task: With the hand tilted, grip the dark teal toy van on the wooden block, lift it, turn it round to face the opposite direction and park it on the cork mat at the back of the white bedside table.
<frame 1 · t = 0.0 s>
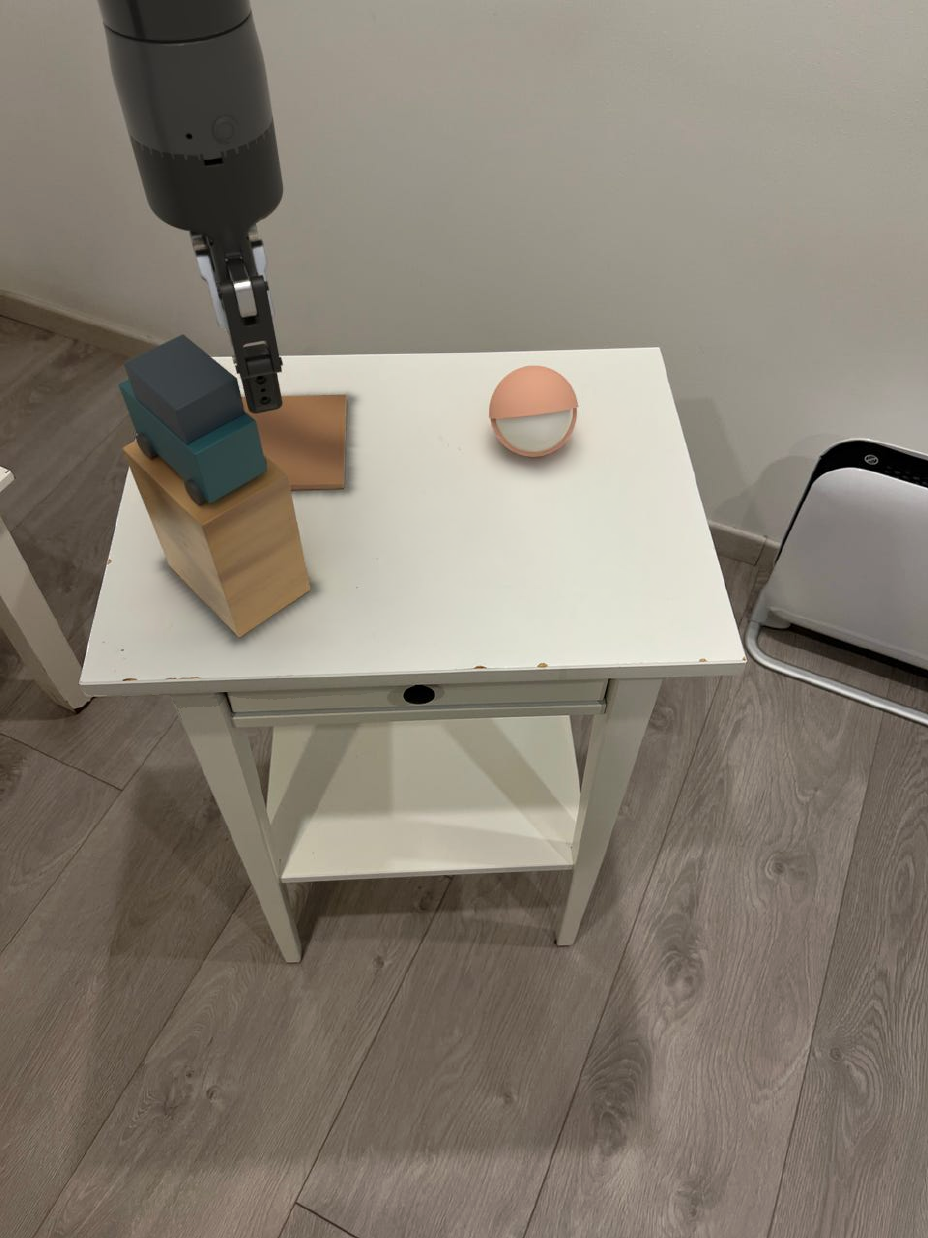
hand: (253, 367, 58), 18 cm above the table, tool pointing down, fingers open, 8 cm apart
toy ball: (529, 445, 81), on the table
wooden block: (239, 577, 71), on the table
toy van: (241, 495, 58), point 13 cm above the table, touching wooden block
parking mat: (284, 400, 84), on the table
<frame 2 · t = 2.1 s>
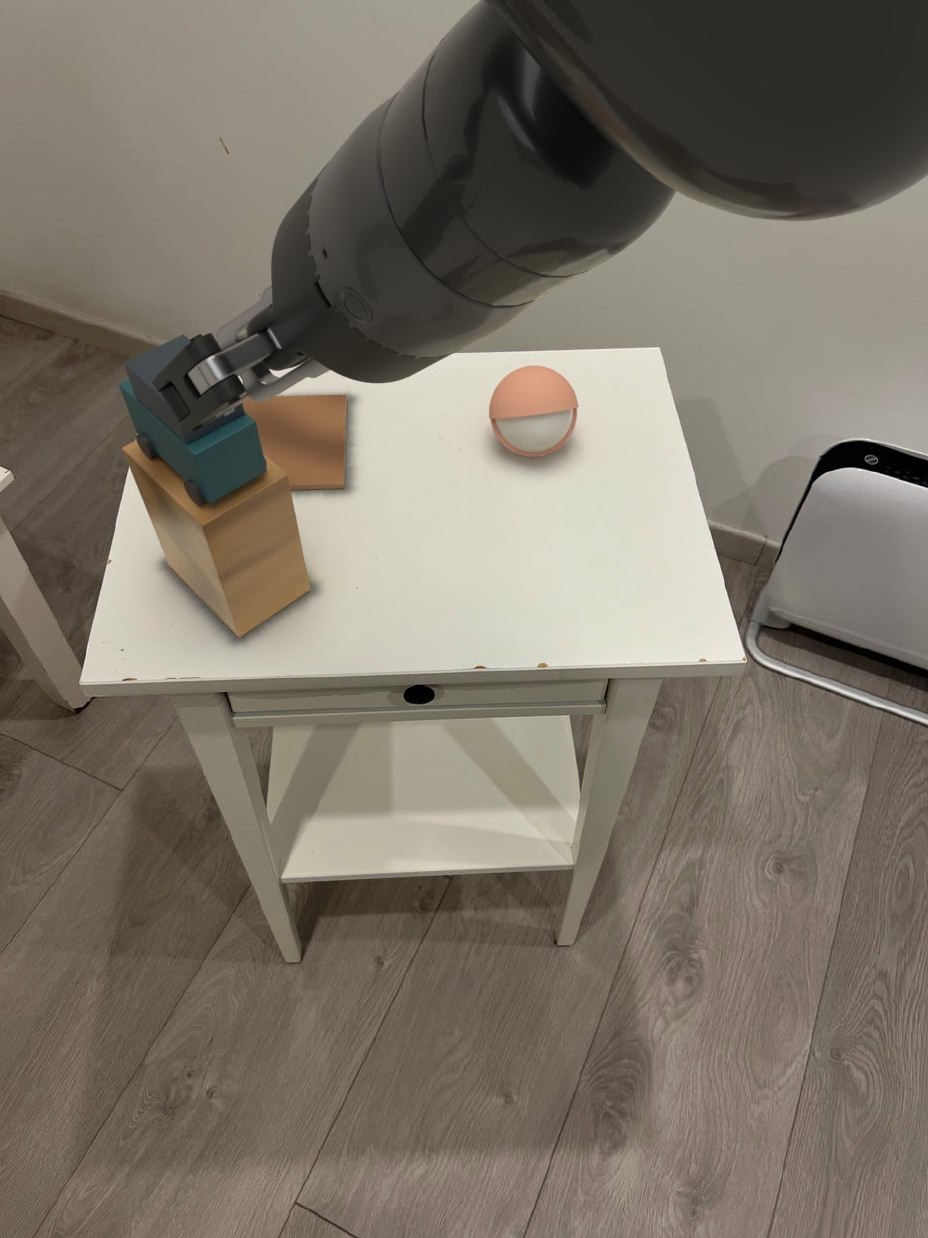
hand: (269, 364, 44), 28 cm above the table, tool tilted 45°, fingers open, 8 cm apart
nothing on the table moved.
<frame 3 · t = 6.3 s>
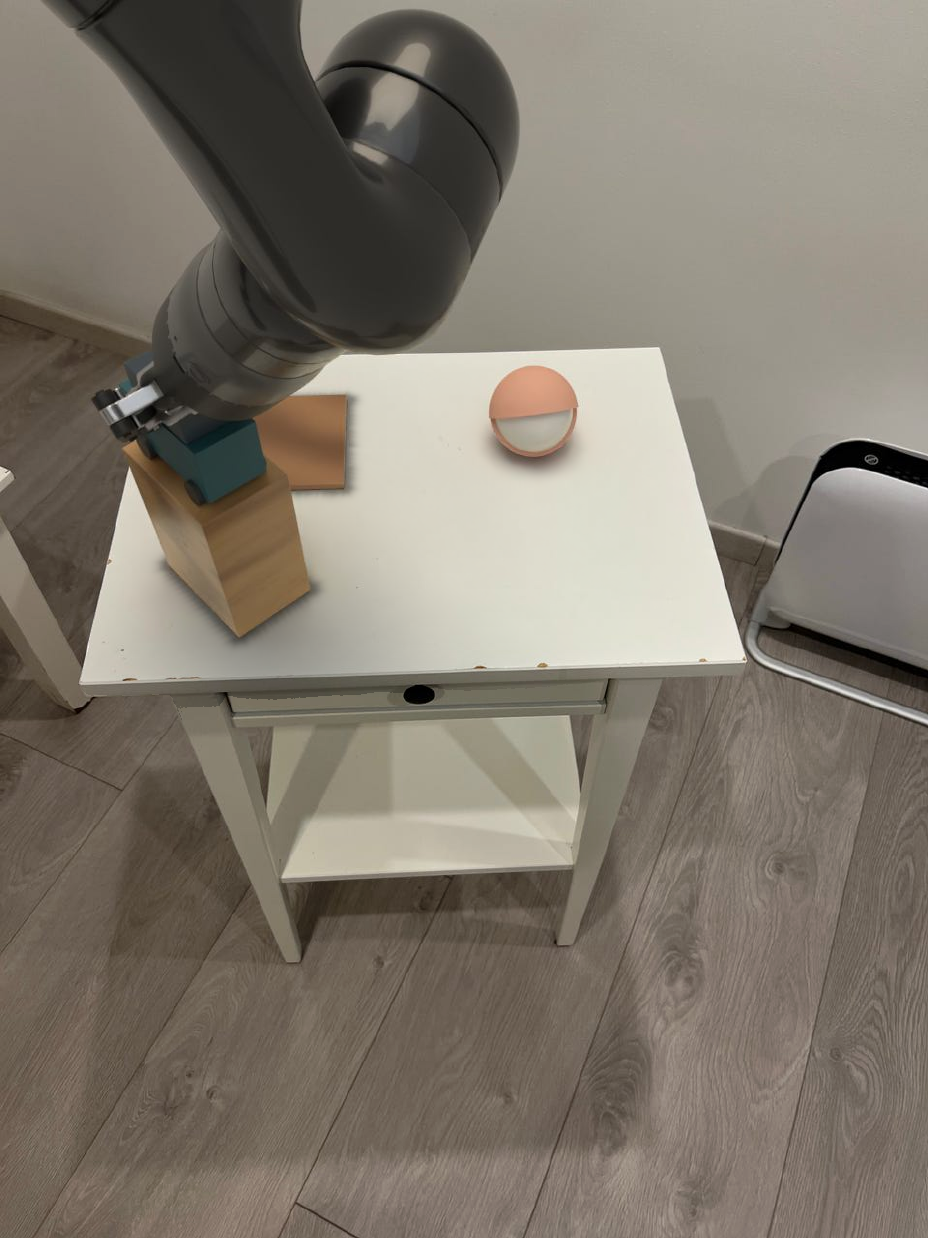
hand: (173, 401, 58), 17 cm above the table, tool tilted 45°, fingers closed on toy van, 4 cm apart
toy van: (241, 495, 58), point 13 cm above the table, touching wooden block, gripper
everything else where it was.
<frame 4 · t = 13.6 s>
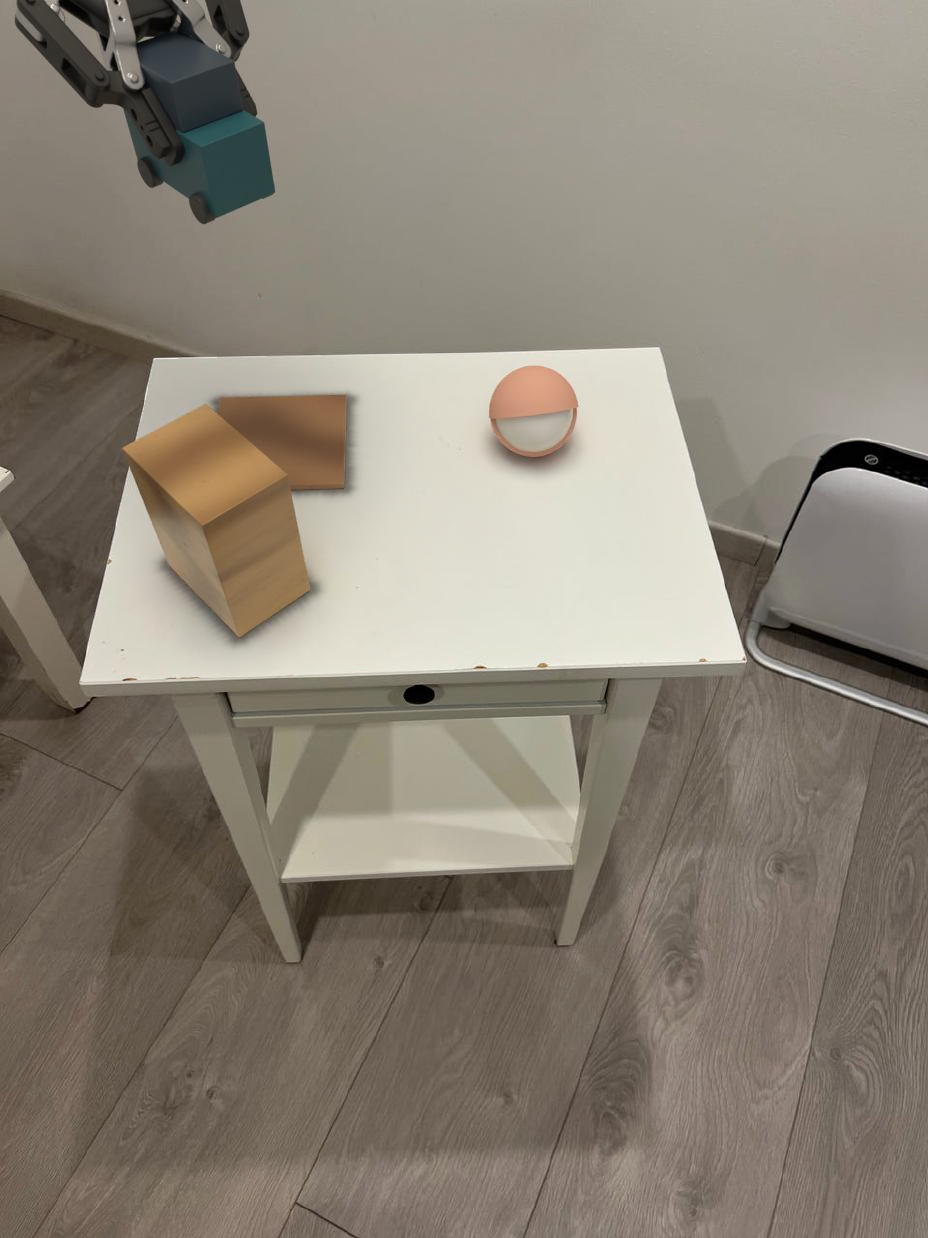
hand: (213, 143, 54), 29 cm above the table, tool tilted 45°, fingers closed on toy van, 4 cm apart
toy van: (170, 165, 60), point 25 cm above the table, touching gripper
everything else where it was.
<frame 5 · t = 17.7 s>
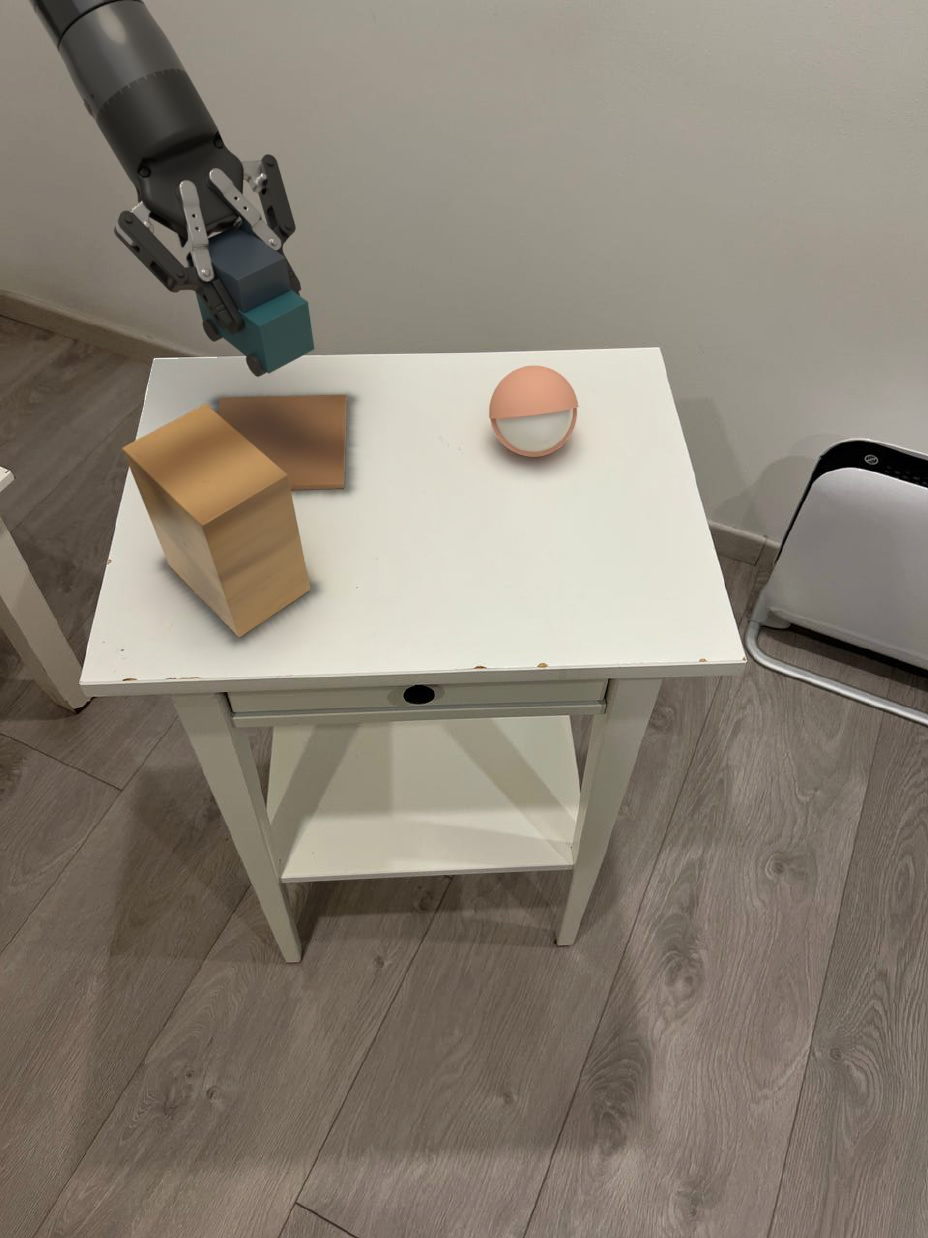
hand: (266, 315, 68), 15 cm above the table, tool tilted 45°, fingers closed on toy van, 4 cm apart
toy van: (227, 318, 73), point 11 cm above the table, touching gripper
everything else where it was.
when the fingers open (4 cm above the table, at t = 21.0 s): toy van stays where it is, resting on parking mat.
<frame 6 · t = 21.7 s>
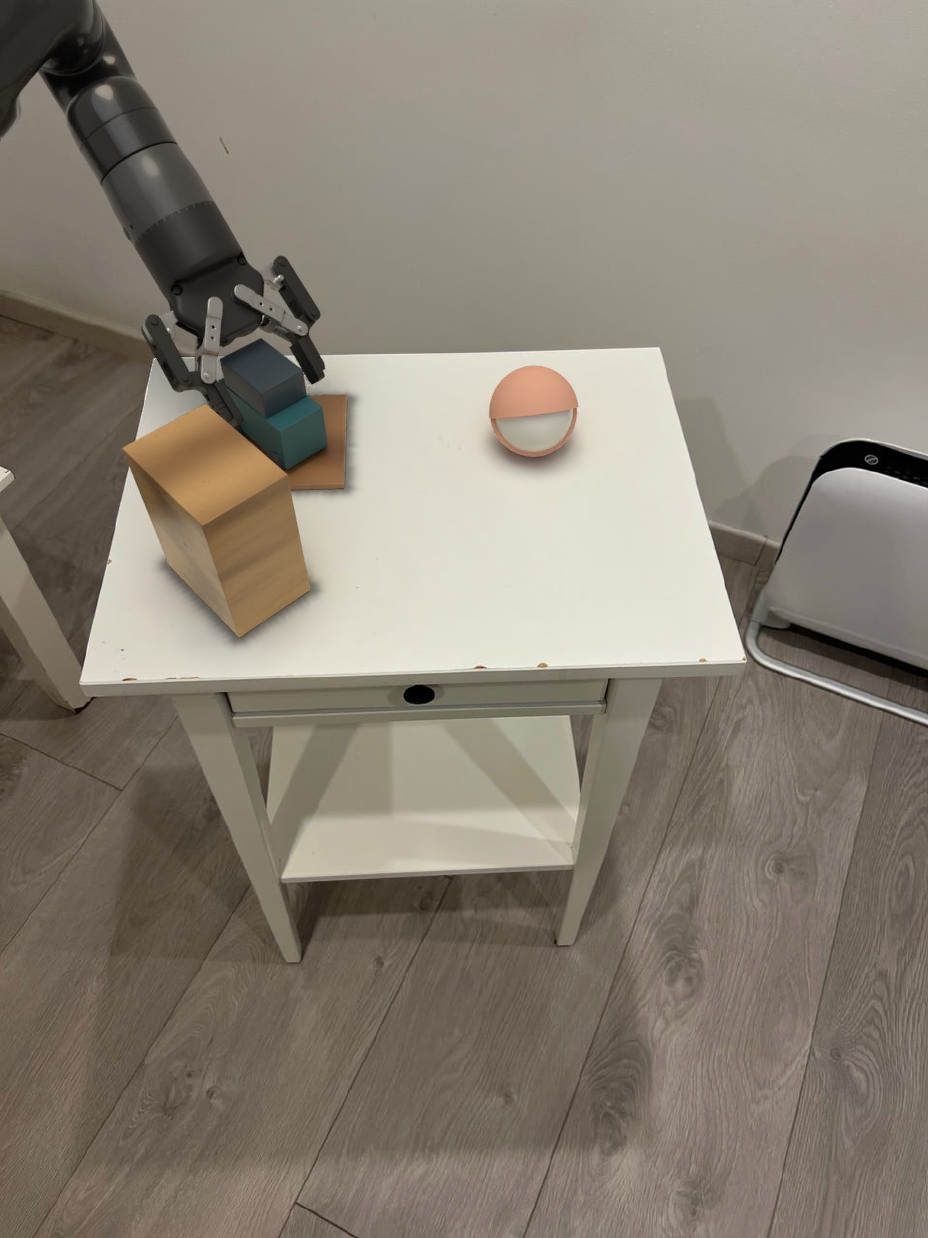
hand: (279, 402, 75), 6 cm above the table, tool tilted 45°, fingers open, 8 cm apart
toy van: (249, 414, 81), point 1 cm above the table, touching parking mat
everything else where it was.
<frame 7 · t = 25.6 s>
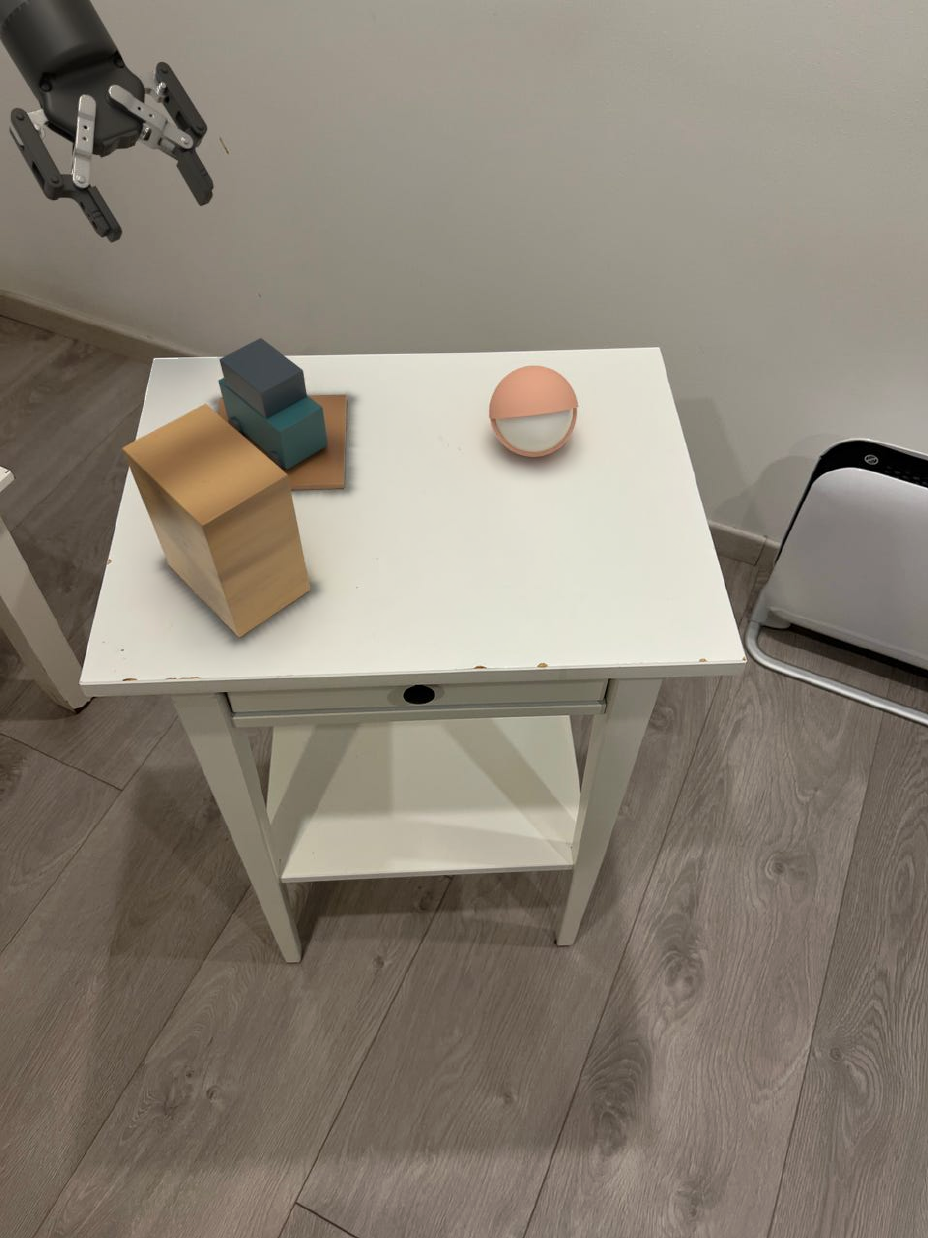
hand: (163, 218, 71), 17 cm above the table, tool tilted 45°, fingers open, 8 cm apart
nothing on the table moved.
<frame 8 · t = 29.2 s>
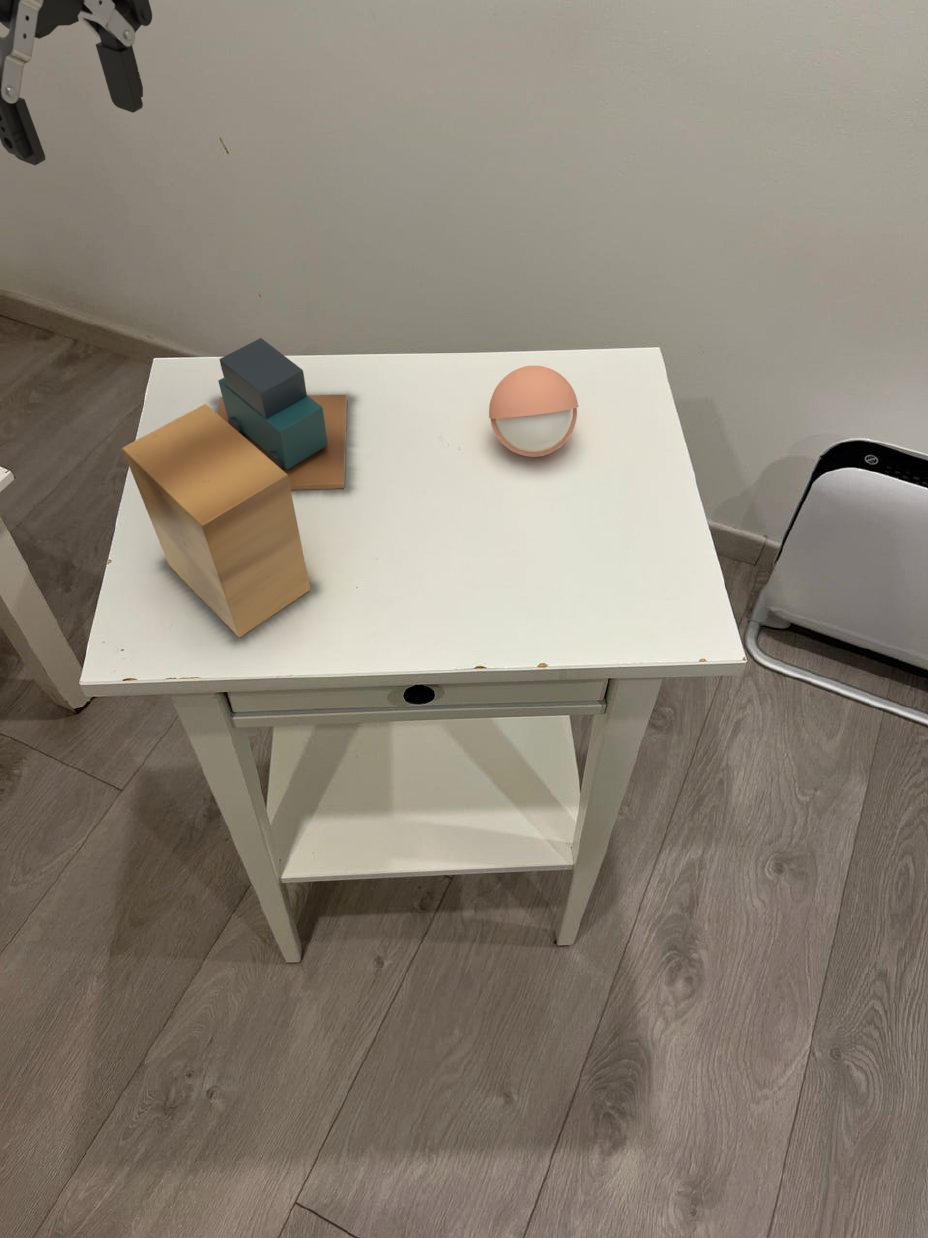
hand: (82, 132, 56), 28 cm above the table, tool pointing down, fingers open, 8 cm apart
nothing on the table moved.
at the end: toy van 0.1 cm from the target spot on the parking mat, point 0.6 cm above the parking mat's base; toy van tilted 0°; the gripper is holding nothing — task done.
